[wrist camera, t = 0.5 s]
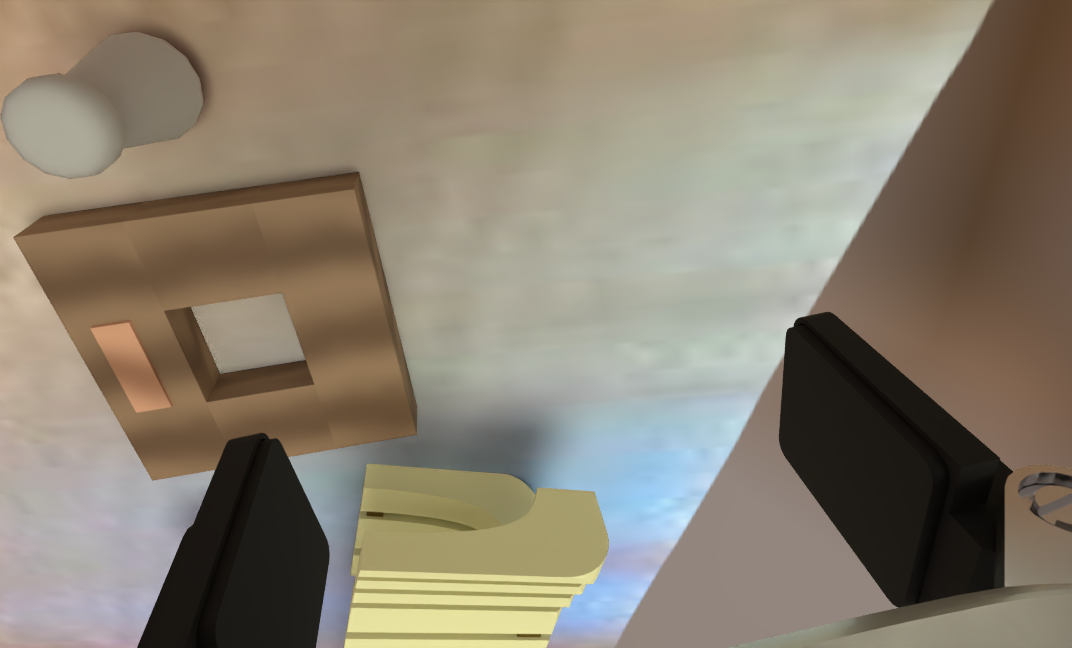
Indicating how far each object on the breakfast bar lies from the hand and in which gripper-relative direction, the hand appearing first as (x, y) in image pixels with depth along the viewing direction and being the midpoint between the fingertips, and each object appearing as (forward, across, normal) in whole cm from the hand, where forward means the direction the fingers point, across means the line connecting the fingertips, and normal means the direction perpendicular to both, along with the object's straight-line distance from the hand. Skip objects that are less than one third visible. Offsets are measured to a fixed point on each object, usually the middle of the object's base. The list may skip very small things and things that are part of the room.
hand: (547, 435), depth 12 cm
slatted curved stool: (+34, +9, +38) cm, 52 cm away
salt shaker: (+34, +17, -4) cm, 38 cm away
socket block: (+34, +18, +13) cm, 41 cm away
